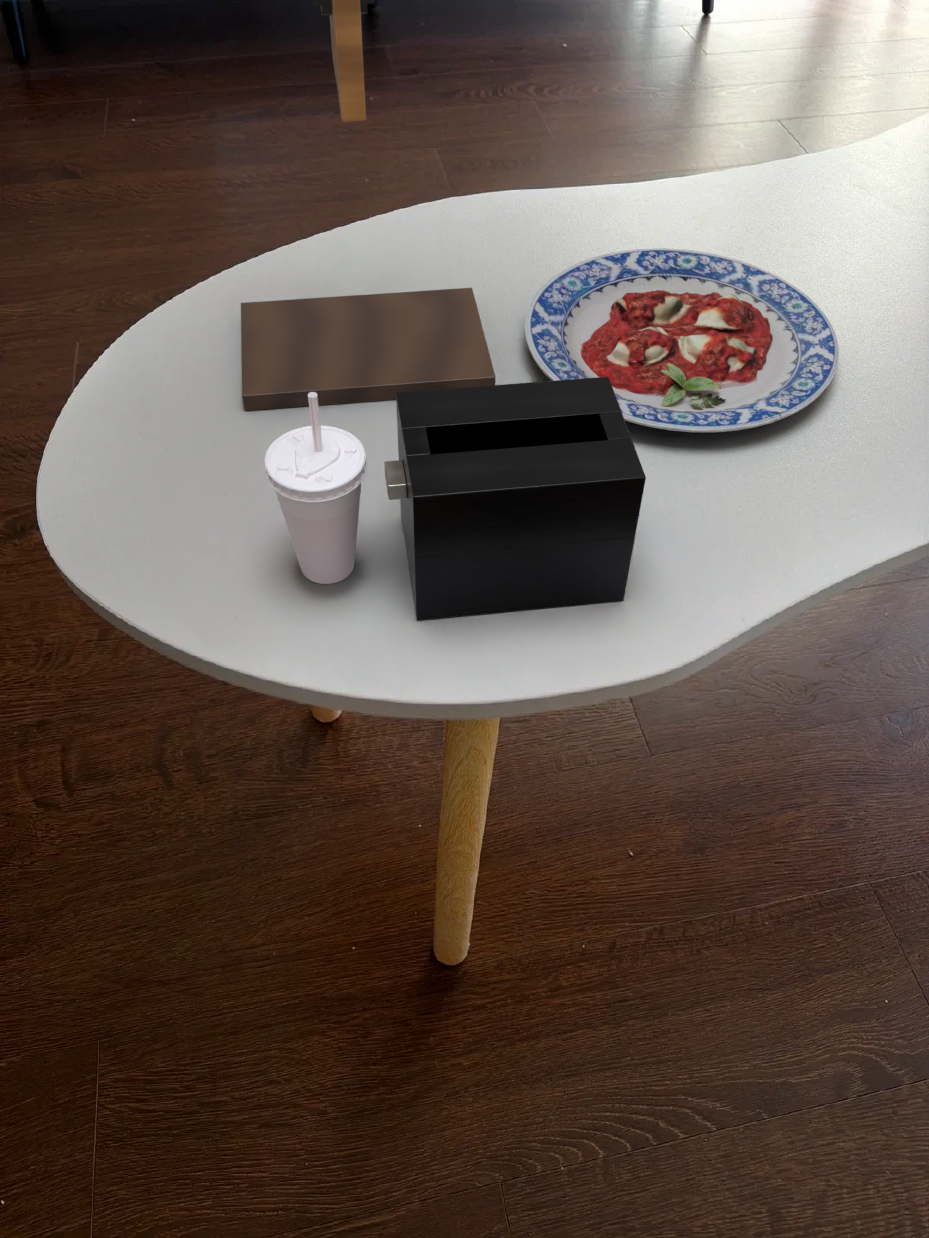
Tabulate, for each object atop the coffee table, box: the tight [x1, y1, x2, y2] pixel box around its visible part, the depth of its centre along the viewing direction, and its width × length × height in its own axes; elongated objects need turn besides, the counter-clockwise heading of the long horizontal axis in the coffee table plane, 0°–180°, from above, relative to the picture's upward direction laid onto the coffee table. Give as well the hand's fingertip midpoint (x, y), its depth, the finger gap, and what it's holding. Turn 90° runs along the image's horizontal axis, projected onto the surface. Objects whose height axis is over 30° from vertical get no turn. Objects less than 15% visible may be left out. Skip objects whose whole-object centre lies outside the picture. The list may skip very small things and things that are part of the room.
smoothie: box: [264, 392, 368, 585], centre depth 70 cm, size 6×6×14 cm
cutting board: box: [240, 287, 496, 412], centre depth 91 cm, size 20×13×2 cm, turn 98°
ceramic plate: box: [524, 247, 840, 433], centre depth 91 cm, size 26×26×3 cm
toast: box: [329, 0, 367, 123], centre depth 71 cm, size 10×2×10 cm, turn 8°
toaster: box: [383, 377, 647, 622], centre depth 72 cm, size 15×10×11 cm, turn 98°
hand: (343, 9), depth 71 cm, fingers closed on toast
